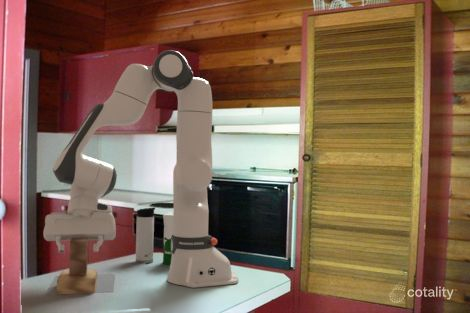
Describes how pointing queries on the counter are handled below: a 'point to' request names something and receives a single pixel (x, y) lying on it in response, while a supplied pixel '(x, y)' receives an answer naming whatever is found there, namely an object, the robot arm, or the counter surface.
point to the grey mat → (103, 285)
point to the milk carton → (168, 237)
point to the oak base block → (77, 283)
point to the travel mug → (145, 235)
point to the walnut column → (78, 257)
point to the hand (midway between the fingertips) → (78, 251)
